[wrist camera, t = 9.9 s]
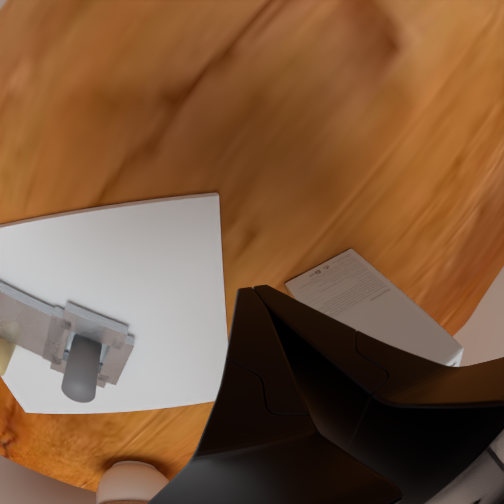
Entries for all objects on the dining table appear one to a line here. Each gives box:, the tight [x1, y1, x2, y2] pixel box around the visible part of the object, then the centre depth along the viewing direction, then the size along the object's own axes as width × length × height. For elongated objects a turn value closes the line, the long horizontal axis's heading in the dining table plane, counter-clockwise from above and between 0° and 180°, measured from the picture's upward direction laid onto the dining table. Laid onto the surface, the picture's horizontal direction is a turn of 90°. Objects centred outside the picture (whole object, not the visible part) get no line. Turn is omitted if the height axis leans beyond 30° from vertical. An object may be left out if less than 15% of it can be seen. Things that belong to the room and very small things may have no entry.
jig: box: [0, 192, 228, 414], centre depth 19 cm, size 19×22×6 cm
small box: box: [285, 249, 464, 367], centre depth 20 cm, size 8×6×13 cm
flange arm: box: [0, 281, 135, 388], centre depth 16 cm, size 14×6×6 cm, turn 57°
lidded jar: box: [96, 461, 170, 504], centre depth 27 cm, size 11×11×9 cm
